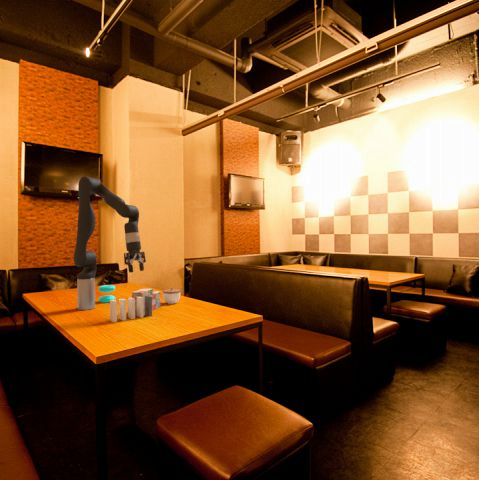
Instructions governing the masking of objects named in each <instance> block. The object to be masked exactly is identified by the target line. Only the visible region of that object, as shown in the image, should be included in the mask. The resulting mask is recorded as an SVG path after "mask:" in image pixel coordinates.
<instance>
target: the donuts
mask: <svg viewBox="0 0 479 480" xmlns="http://www.w3.org/2000/svg"><path fill="white" fill-rule="evenodd" d="M115 290H116V286H115V285H114V284H113V285H112V284H106V285H100V286H99V287H98V291H99V292H101V293H110V292H111V293H112V292H113V291H115ZM110 300H115V301H116V296H114V295H111V294H109V295H101V296H100V297H98V302H99V303H104V304H107V303H110Z"/></svg>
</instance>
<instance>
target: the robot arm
mask: <svg viewBox="0 0 479 480" xmlns="http://www.w3.org/2000/svg"><path fill="white" fill-rule="evenodd" d="M77 190H78V193H77V194H78V214H77V215H78V216H77V232H76V242H75V247H74V253H73V262H74V263H73V264H74V265H75V266H76V267H78V268H83V269H82V271H81V272H79V273H77V276H76V278H77V279H76V280H77V281H76V282H77V283H76V284H77V310H78V311H81V310H82V311H86V310H87V311H88V310H92V309H95V308H96V274H97V264H98V263H97V261H98V259H97V254H96V252H94V251H93V250H87V246H88V242H89V240H90V238H91V237H92V235H93V233H94V232H95V230H96V229H95V228H96V223H97V222H96V214H95V211H94V209H93V207H92V204H91V199H90V198H91V195H96V196H98V197H100V198H102V199H103V200H104V203H105V204H107V206H109V207H111V208H112V209H113V210H115V212H116V213H117V214H118V215H119V216H120V217H122V218H125V219H128V221H127V222H125V223H124V226H123V227H124V235H125V236H124V240H125V248H126V251H127V252H124V253H123V262H124V265H125V266H127V267H128V272H129V273H134V265H133V263H134V262H135V261H136V262H137V263H138V266H139V271H140V272H143V271H144V270H145V266H144V263H146V262H147V260H146V254H145V251H141V250H142V245H141V244H142V243H141V238H140V237H141V236H140V233H139V220H140V219H139V218H140V211H139V208H138V206H136V205H131V204H127V203H126V201H125V200H124V199H123V198H121V197H119V196H118V195H117V194H115V193H114V192H112V190H110V189H109V188H107V186H105V184H103V183H102V182H101V181H100V180H99V179H97V178H95V177H90V176H86V175H85V176H81V177H80V179H79V180H78V189H77Z"/></svg>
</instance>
